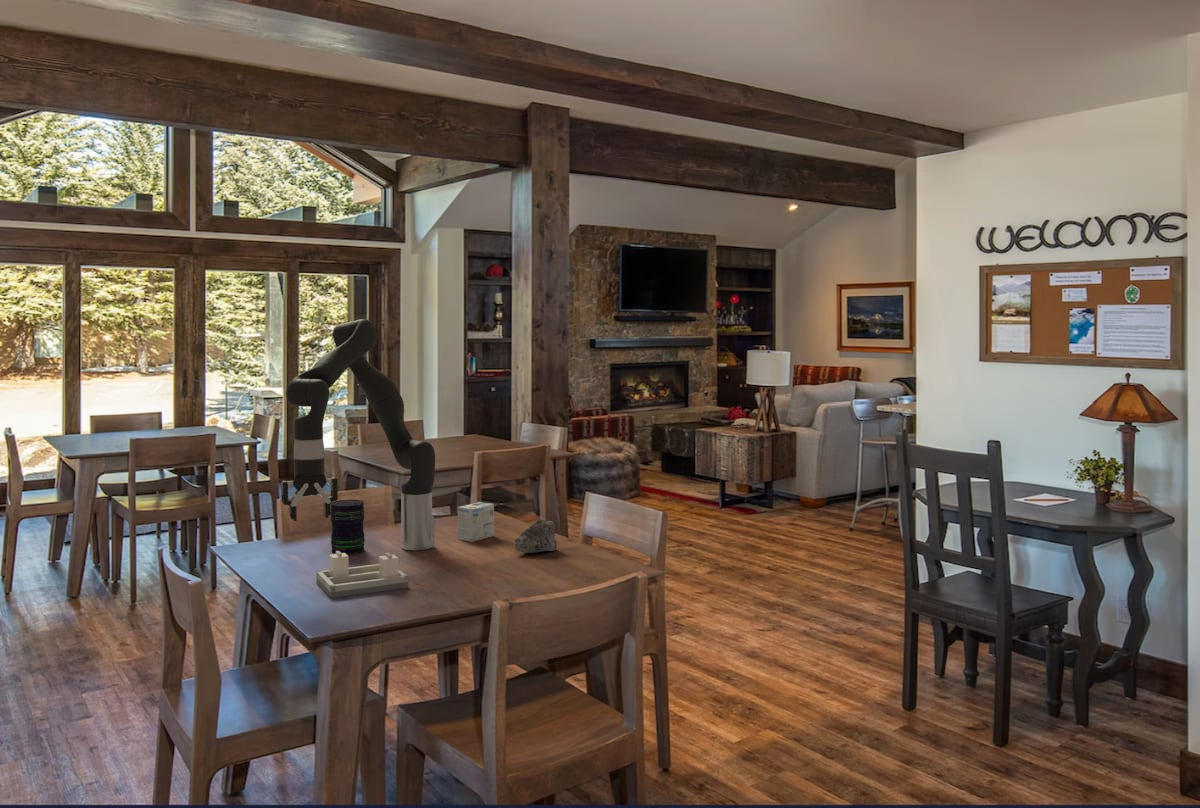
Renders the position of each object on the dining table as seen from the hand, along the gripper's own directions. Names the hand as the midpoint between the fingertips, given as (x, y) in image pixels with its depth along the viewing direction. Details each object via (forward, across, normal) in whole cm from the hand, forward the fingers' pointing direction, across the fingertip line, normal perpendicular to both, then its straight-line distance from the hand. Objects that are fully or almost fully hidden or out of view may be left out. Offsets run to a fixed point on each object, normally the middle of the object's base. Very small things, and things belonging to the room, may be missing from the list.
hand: (310, 518), depth 241 cm
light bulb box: (+18, -59, -34) cm, 70 cm away
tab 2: (+16, -18, +8) cm, 26 cm away
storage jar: (+18, -18, -34) cm, 43 cm away
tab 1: (+16, -7, 0) cm, 18 cm away
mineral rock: (+18, -68, -8) cm, 71 cm away
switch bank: (+18, -12, +4) cm, 22 cm away
